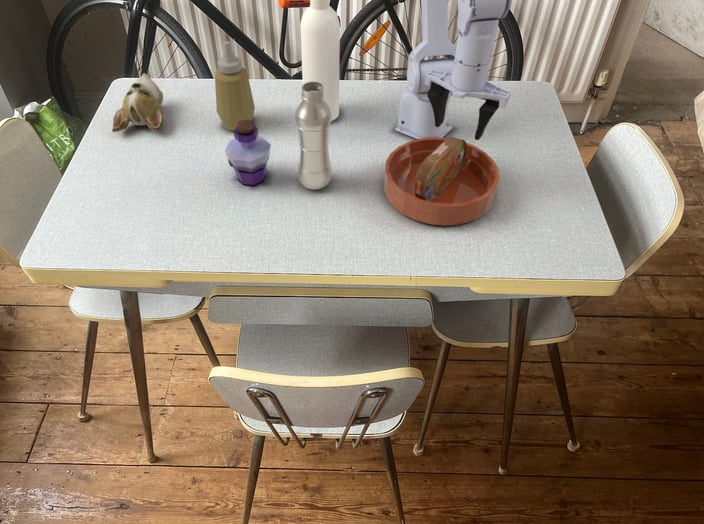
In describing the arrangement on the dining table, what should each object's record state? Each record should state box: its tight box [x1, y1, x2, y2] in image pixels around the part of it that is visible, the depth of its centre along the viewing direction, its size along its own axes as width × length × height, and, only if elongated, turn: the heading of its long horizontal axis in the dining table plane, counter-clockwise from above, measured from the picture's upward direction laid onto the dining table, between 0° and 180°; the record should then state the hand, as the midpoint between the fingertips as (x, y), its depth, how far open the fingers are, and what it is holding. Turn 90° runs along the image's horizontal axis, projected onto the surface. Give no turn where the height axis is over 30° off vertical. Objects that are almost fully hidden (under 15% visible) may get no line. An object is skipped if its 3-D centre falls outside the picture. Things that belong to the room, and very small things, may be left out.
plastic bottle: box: [294, 81, 333, 191], centre depth 103 cm, size 6×7×20 cm
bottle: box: [299, 0, 341, 122], centre depth 115 cm, size 8×8×30 cm
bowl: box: [383, 137, 500, 226], centre depth 106 cm, size 20×20×5 cm
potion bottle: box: [224, 119, 272, 187], centre depth 107 cm, size 9×9×12 cm
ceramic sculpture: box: [111, 72, 164, 133], centre depth 122 cm, size 11×9×15 cm
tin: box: [415, 136, 467, 202], centre depth 105 cm, size 15×3×8 cm, turn 142°
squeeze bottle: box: [214, 40, 255, 132], centre depth 117 cm, size 8×8×18 cm
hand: (458, 130), depth 103 cm, fingers open, 7 cm apart
